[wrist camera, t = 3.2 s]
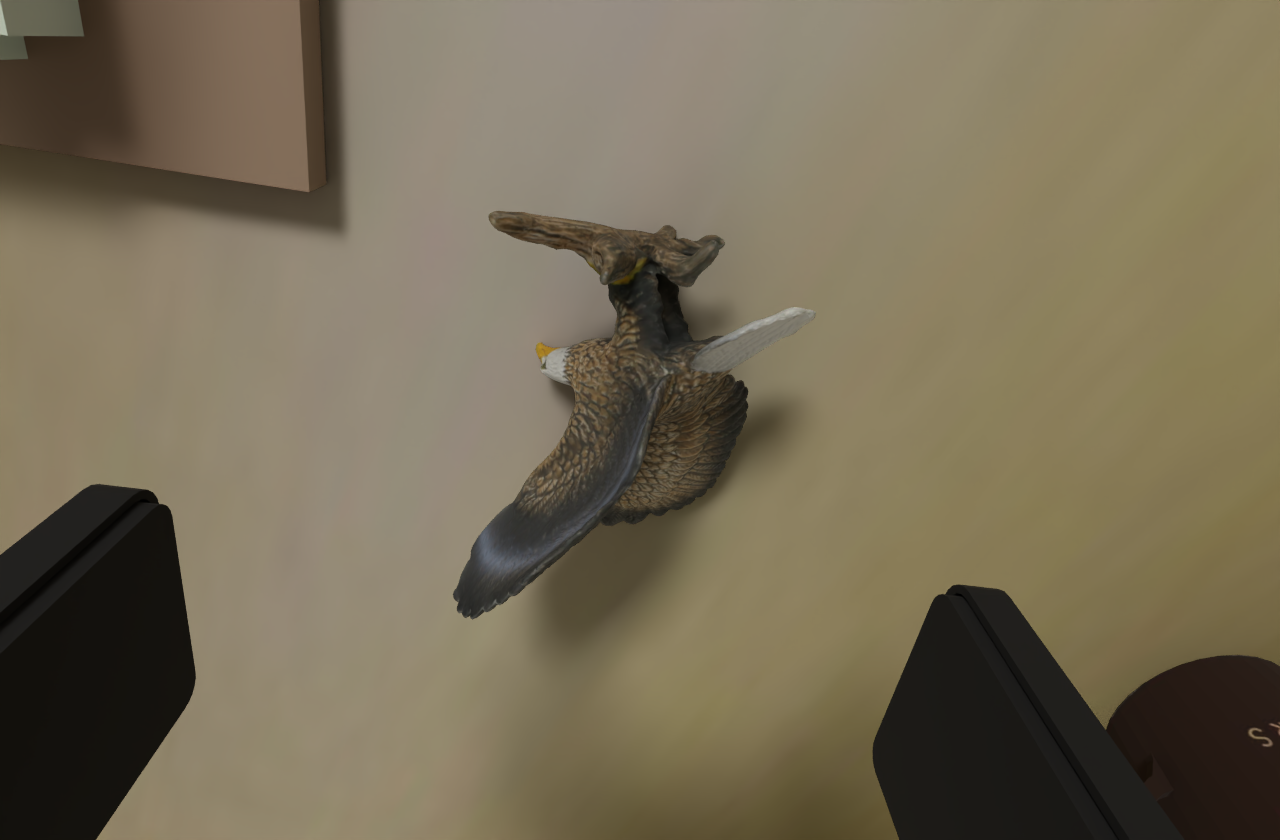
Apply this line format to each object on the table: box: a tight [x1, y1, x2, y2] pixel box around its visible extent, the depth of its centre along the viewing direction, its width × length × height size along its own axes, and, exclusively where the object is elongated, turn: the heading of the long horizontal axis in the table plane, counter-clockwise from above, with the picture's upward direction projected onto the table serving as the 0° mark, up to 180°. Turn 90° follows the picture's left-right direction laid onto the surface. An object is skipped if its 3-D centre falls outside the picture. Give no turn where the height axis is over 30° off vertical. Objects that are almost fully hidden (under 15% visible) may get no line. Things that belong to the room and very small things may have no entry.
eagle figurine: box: [453, 211, 816, 619], centre depth 17 cm, size 8×7×9 cm
